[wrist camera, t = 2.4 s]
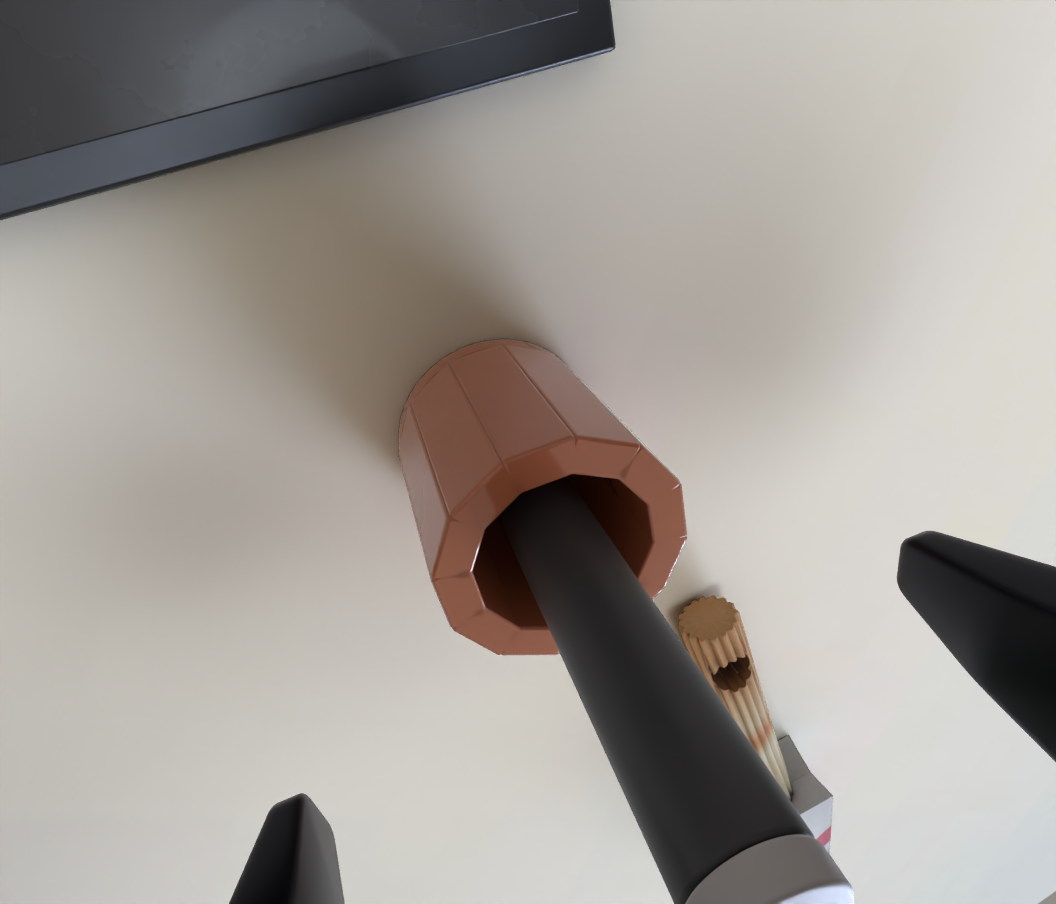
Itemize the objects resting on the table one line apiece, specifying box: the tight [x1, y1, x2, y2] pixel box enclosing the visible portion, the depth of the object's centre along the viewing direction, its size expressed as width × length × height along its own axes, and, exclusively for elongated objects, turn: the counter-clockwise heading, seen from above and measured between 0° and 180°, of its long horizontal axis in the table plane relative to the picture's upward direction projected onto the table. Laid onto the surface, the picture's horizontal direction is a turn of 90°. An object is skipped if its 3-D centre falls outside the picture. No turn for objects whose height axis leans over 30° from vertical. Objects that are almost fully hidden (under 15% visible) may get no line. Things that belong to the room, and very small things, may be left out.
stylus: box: [498, 476, 854, 904], centre depth 10 cm, size 2×2×10 cm
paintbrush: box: [678, 596, 833, 853], centre depth 25 cm, size 4×3×20 cm
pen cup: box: [399, 339, 687, 655], centre depth 13 cm, size 5×5×5 cm
